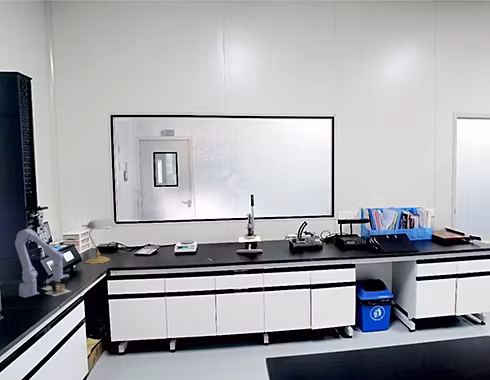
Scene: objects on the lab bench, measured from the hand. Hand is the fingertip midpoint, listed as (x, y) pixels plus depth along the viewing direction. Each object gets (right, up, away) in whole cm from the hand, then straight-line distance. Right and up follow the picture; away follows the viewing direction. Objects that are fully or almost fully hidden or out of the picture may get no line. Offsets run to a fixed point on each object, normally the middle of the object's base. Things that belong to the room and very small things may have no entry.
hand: (58, 290), depth 230 cm
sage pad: (-10, -1, +8) cm, 13 cm away
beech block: (0, -1, 0) cm, 1 cm away
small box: (-17, -1, +26) cm, 31 cm away
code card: (0, -1, 0) cm, 1 cm away
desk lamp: (-11, +1, +88) cm, 89 cm away
